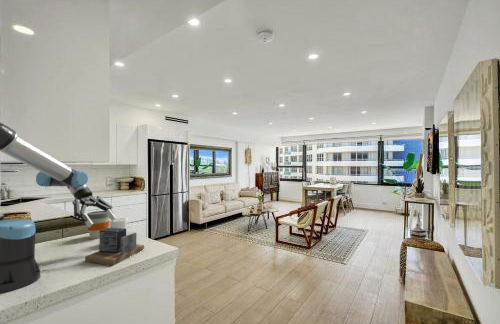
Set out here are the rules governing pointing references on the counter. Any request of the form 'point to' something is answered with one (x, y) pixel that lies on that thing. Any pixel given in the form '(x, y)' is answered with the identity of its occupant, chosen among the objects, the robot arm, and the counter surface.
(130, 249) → the wooden base with plate
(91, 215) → the reusable coffee cup
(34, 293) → the counter surface
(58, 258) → the counter surface
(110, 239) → the small box
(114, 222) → the foam cup
